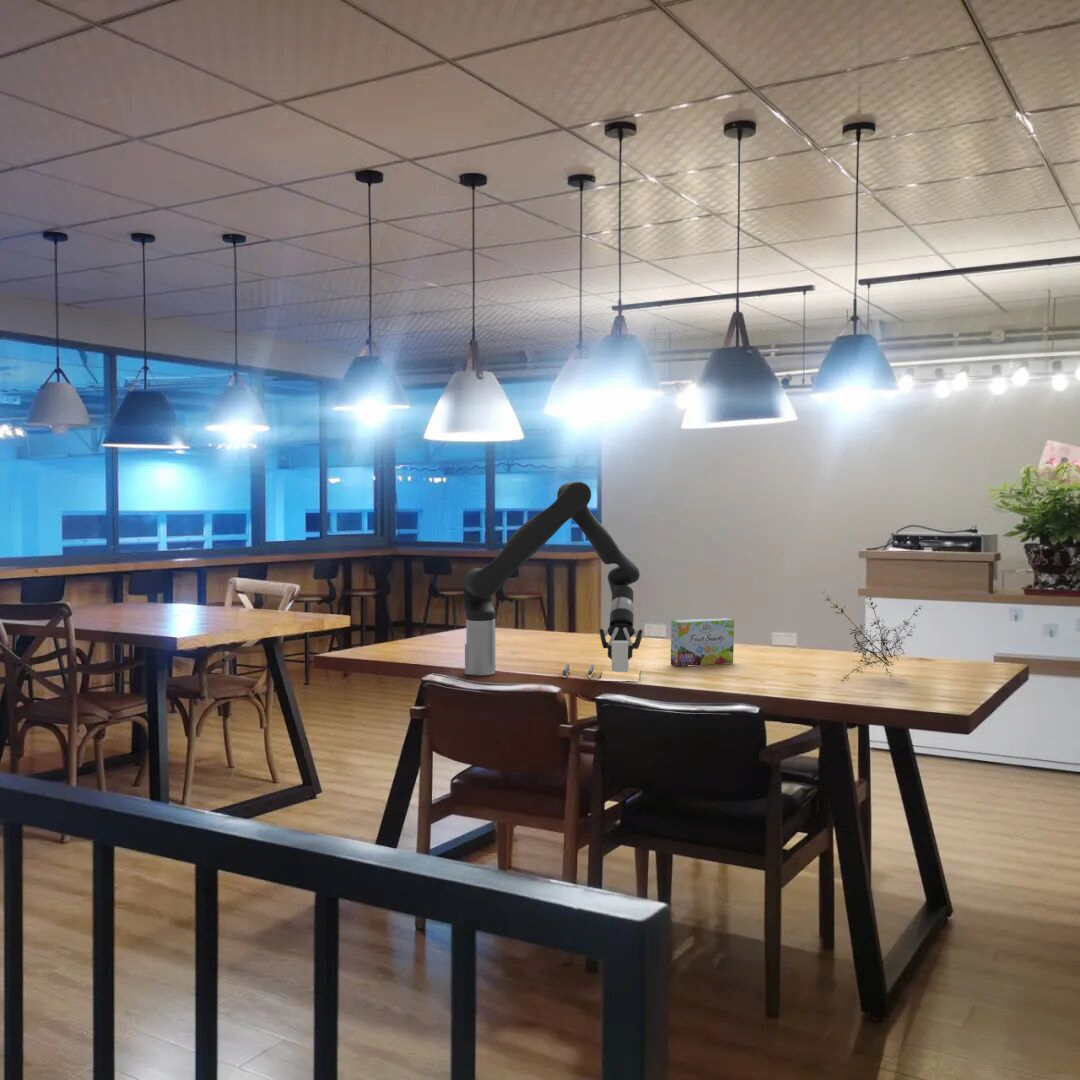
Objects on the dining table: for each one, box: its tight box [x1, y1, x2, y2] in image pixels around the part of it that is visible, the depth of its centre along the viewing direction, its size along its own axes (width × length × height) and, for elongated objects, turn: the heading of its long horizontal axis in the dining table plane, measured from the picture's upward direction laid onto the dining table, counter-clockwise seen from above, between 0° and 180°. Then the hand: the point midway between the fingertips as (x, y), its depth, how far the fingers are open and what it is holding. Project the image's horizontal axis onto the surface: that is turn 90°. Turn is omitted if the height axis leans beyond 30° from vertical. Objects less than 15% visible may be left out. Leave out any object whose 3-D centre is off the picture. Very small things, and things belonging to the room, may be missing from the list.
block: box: [611, 640, 630, 672], centre depth 329 cm, size 5×5×9 cm
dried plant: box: [821, 591, 922, 684], centre depth 311 cm, size 30×31×45 cm
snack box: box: [670, 617, 735, 667], centre depth 351 cm, size 21×6×15 cm, turn 112°
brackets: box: [562, 663, 595, 677], centre depth 331 cm, size 9×12×2 cm
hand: (619, 657), depth 327 cm, fingers closed on block, 5 cm apart
